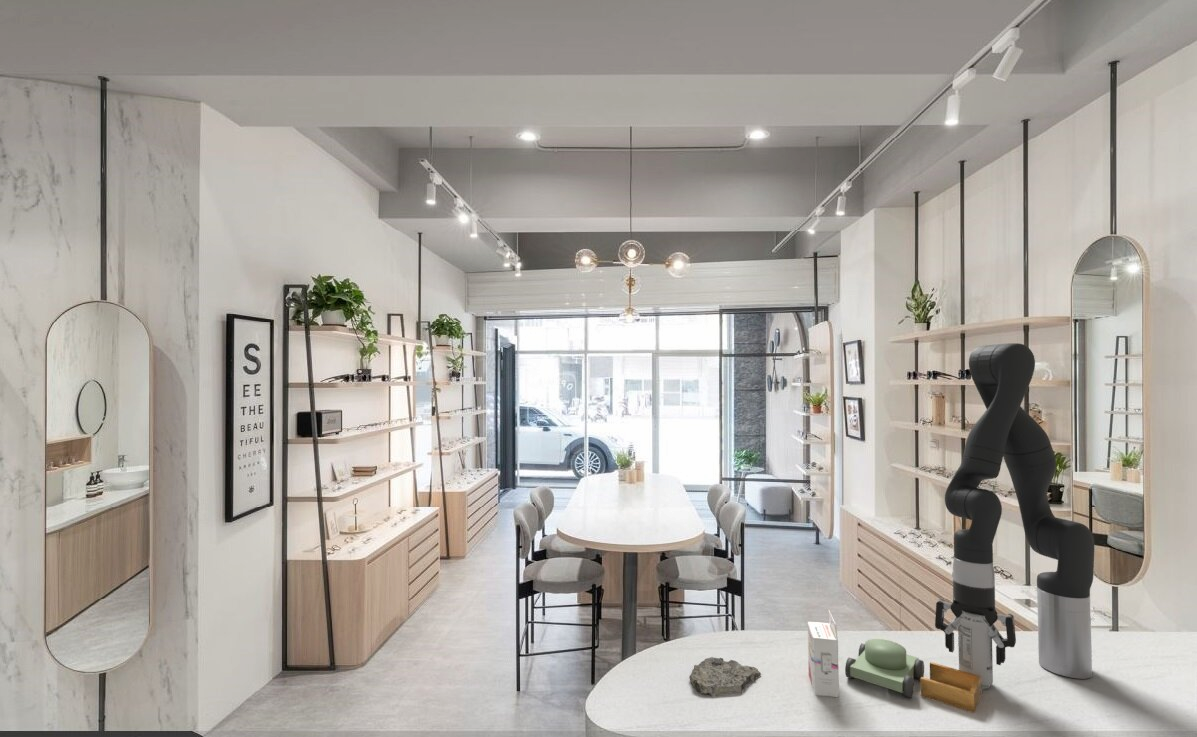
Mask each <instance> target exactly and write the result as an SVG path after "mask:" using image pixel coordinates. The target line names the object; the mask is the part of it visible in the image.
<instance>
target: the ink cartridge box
mask: <svg viewBox="0 0 1197 737" xmlns="http://www.w3.org/2000/svg"><path fill="white" fill-rule="evenodd" d="M828 617H829V618H828V620H829V622H821V621H820V622H818V621H807V641H808V642H807V648H808V649H807V650H808V652H807V653H808V656H807V657H808V677H809V679H810V682H811V686H812V689H813V693H814V696H822V697H823V696H824V697H832V698H833V697H835V698H840V682H839V681H840V678H839V676H840V674H839V671H840V670H839V640H838V639H839V638H838V631H837V623H836V620H834V617H833V615H832V613H831V610H830V609H828Z"/></svg>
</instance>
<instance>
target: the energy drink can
mask: <svg viewBox="0 0 1197 737" xmlns="http://www.w3.org/2000/svg"><path fill="white" fill-rule="evenodd" d="M962 613H966V615H965V616H964V617H963V618H960V620H959V621H960V626H959V627H958V628H957V629H958V630H957V631H958V632H957V634H958V635H957V636H958V638H957V639H958V640H957V641H958V645H957V646H958V670H961V671H964V672H968V673H972V674H975V675H979V676H981V684H982V689H983V690H984V689H989V688H990V686H991V685H992V684H993V682H994V674H993V673H994V672H993V666H994V665H993V639H992V638H991V637H990V636H989V635H988V634H987V625H986V624H985V623H984V622H983V621H982V620H981V619H980V616H981V617H983V618H984V620H985V621H986V622H987V620H986V619H985V616H982V615H978V614H974V613H970V612H964V611H962ZM987 623H988V622H987ZM988 624H989V623H988ZM989 626H990V625H989ZM990 627H991V628H992V626H990Z"/></svg>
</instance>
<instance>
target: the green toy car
mask: <svg viewBox="0 0 1197 737" xmlns="http://www.w3.org/2000/svg"><path fill="white" fill-rule="evenodd" d="M844 670H845V671H844V672H845V677H846V678H848V679H851V680H855V678H856V679H859V680H861V681H865V682H868V683H871V684H874V685H877V686H881V687H883V688H886V689H890V690H892V691H896V692H899V693H901V694H902V695H903V696H904V697H906V698H910V699H912V698H913V695H914V692H915V680H916V681H917V680H918V681H920V682H921V677H924V676H925V662H924V660H922V659H919V657H917V656H914V655H910V654H907V649H906V647H904V646H903V645H901V644H899V643H898V642H894V641H892V640H887V639H883V638H882V639H881V638H872V639H871V638H870V639H868V640H866V641H865V642H864V643H861V644H860V645H859V648H858V656H857V658H856V659H855V658H852V657H848V658H847V660H846V662H845V669H844Z"/></svg>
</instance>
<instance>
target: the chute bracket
mask: <svg viewBox="0 0 1197 737" xmlns="http://www.w3.org/2000/svg"><path fill="white" fill-rule="evenodd" d="M982 693H983V691H982V684H981V676H979V675H975V674H972V673H968V672H964V671H961V670H959V669H956V668H954V667H950V666H946V665H943V664H941V663H940V664H939V663H936V662H932V661H930V662H929V678H927V677H924V676H923V677H921V681H920V696H921V697H924V698H927V699H930V700H933V701H935V702H938V703H943V704H945V705H948V706H952V707H954V708H955V707H956V708H958V709H961V710H965V711H967V712H970V713H973V714H975V713H976V709H977V708H978V704H979V701H980V699H981V696H982V695H983V694H982ZM974 712H975V713H974Z"/></svg>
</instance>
